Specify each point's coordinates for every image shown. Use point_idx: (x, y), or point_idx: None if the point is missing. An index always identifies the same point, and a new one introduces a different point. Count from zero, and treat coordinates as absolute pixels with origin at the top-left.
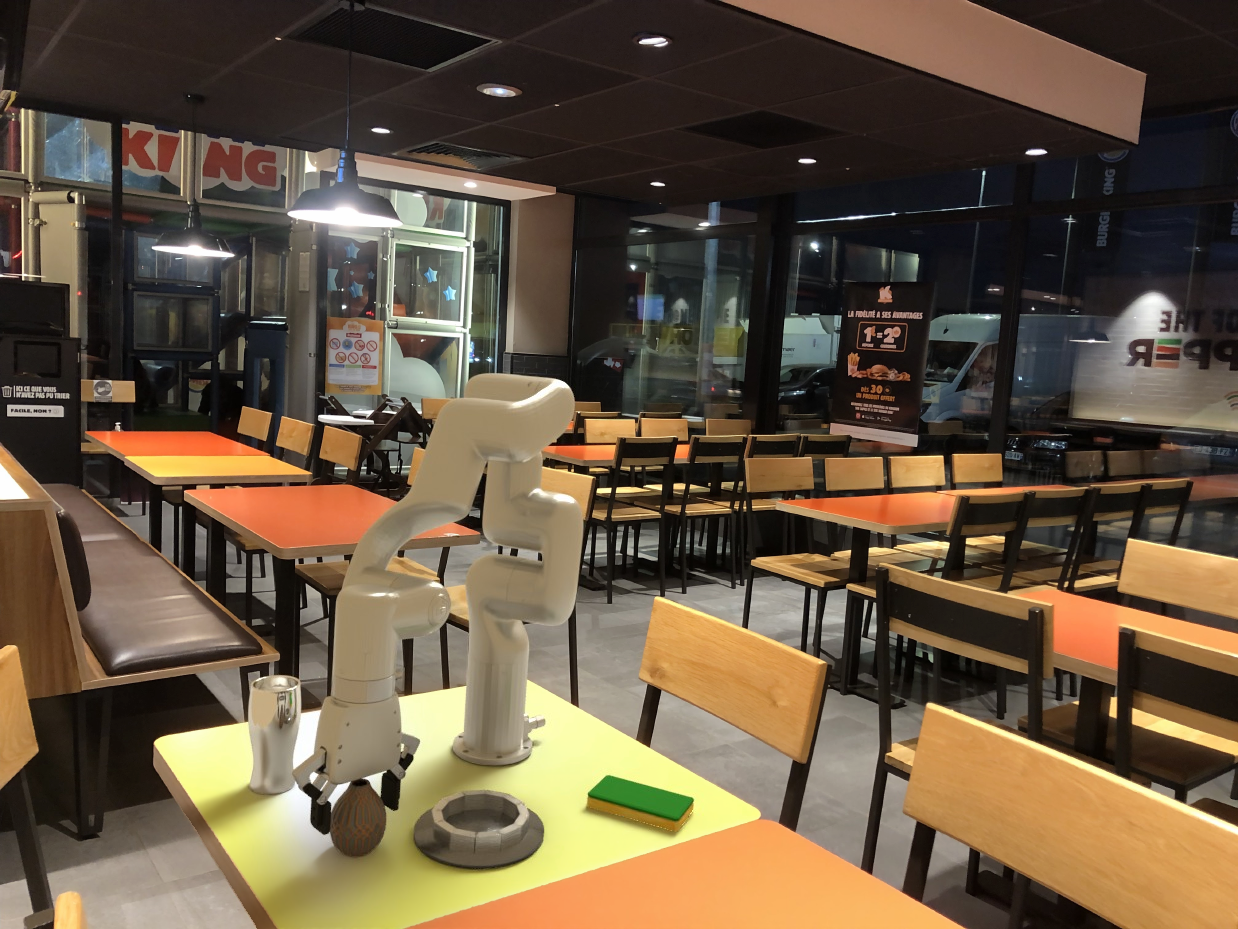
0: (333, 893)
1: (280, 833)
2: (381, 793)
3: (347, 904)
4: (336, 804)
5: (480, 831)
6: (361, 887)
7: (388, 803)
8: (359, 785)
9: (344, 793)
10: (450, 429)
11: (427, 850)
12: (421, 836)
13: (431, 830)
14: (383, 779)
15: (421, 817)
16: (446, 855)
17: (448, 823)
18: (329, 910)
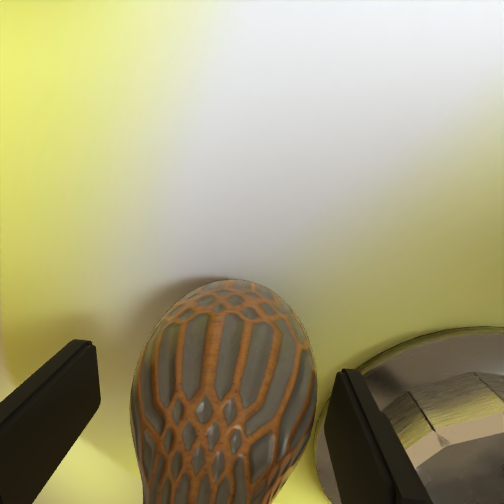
0: (116, 398)
1: (134, 122)
2: (349, 404)
3: (120, 431)
4: (135, 396)
5: (449, 468)
6: None
7: (333, 421)
8: (248, 447)
9: (148, 448)
10: None
11: (318, 442)
12: None
13: (389, 402)
14: (374, 485)
15: (428, 351)
16: (328, 474)
17: None
18: (88, 424)
